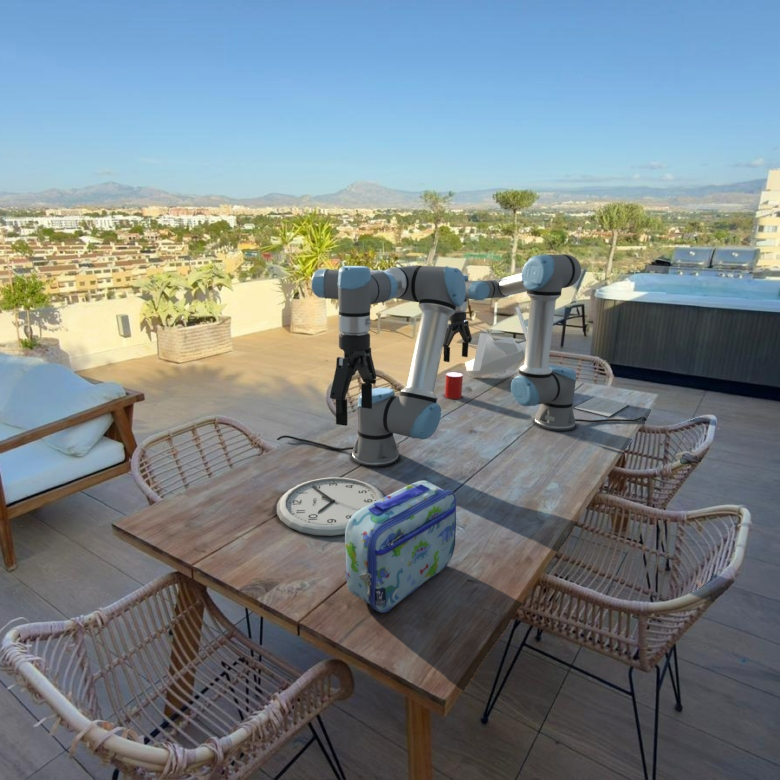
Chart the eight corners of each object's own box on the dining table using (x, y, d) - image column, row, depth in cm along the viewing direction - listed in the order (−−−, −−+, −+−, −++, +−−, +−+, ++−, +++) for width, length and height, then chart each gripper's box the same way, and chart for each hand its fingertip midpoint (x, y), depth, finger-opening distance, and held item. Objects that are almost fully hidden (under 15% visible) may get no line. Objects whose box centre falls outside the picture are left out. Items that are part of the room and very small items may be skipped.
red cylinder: (464, 395, 238) (465, 373, 235) (457, 400, 232) (458, 377, 229) (449, 393, 242) (450, 371, 239) (442, 397, 235) (443, 375, 232)
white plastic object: (486, 418, 267) (465, 395, 242) (467, 346, 289) (447, 318, 264) (556, 394, 255) (543, 367, 230) (531, 321, 277) (516, 289, 252)
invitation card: (608, 416, 214) (573, 407, 224) (608, 416, 214) (573, 408, 224) (628, 404, 229) (594, 396, 238) (628, 405, 229) (594, 397, 238)
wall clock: (392, 527, 129) (268, 531, 127) (391, 533, 130) (269, 537, 127) (383, 473, 158) (282, 475, 155) (383, 478, 158) (282, 480, 156)
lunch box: (374, 626, 100) (375, 530, 93) (338, 598, 107) (337, 508, 101) (459, 568, 117) (465, 484, 111) (424, 547, 124) (427, 467, 118)
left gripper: (343, 343, 113) (344, 435, 119) (389, 325, 135) (388, 403, 141) (313, 340, 116) (315, 429, 122) (363, 323, 137) (363, 399, 144)
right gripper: (467, 307, 237) (465, 353, 243) (432, 313, 219) (431, 362, 225) (481, 309, 232) (478, 356, 238) (447, 314, 214) (445, 365, 220)
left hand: (354, 415), depth 131 cm, fingers open, 13 cm apart
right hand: (455, 359), depth 231 cm, fingers open, 13 cm apart
